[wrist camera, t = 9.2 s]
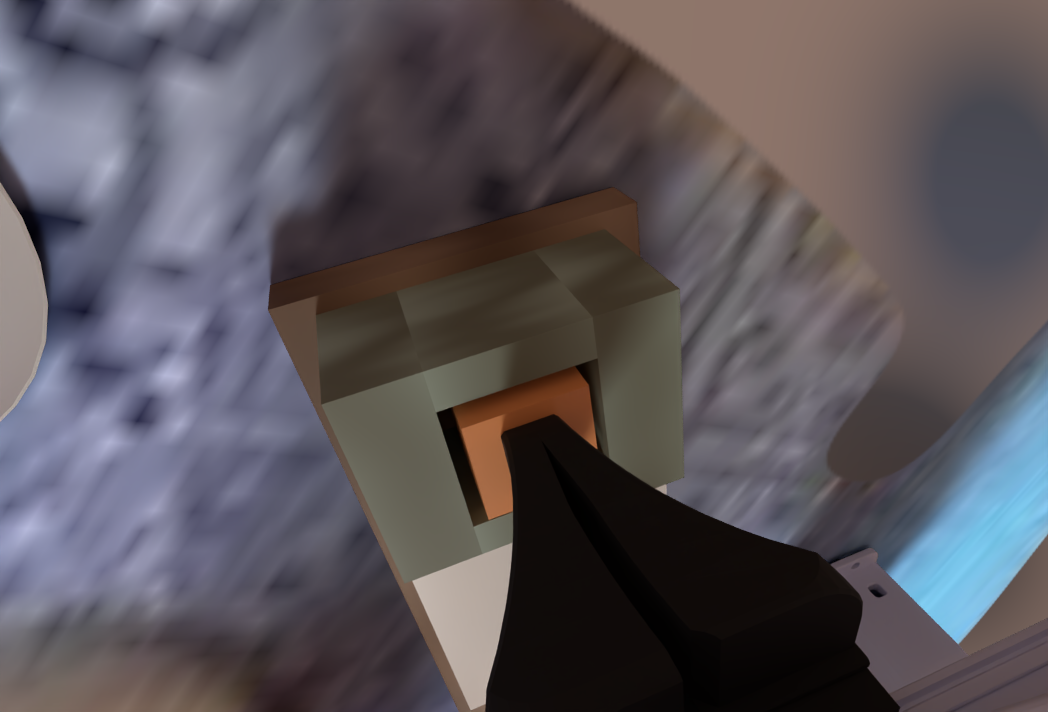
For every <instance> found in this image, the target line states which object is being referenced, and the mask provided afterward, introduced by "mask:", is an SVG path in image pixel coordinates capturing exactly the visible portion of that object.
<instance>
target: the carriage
mask: <svg viewBox="0 0 1048 712" xmlns="http://www.w3.org/2000/svg"><path fill="white" fill-rule="evenodd" d="M655 489H657V490H659V491H660V492H662V493H664V494H666V495H667V493H666V484H665V485H663V486H660V487H657V488H655ZM511 558H512V543H510V544H508V545H505V546H502V547H500V548H497V549H495V550H492V551H489V552H487V553H484V554H481V555H479V556H476V557H473V558H471V559H468V560H466V561H463V562H460V563H458V564H455V565H452V566H450V567H447V568H445V569H442V570H439V571H437V572H434V573H431V574H429V575H426V576H424V577H421V578H418V579H416V580H413V581H412V582H413V584H414V586H415V588H416V590H417V593H418V595H419V597H420V599H421V602H422V604H423V606H424V608H425V610H426V613H427V615H428V617H429V619H430V621H431V624H432V626H433V628H434V630H435V633H436V635H437V637H438V639H439V641H440V644H441V646H442V648H443V650H444V652H445V655H446V657H447V659H448V661H449V664H450V666H451V668H452V670H453V672H454V675H455V677H456V679H457V681H458V683H459V686H460V688H461V690H462V692H463V695H464V697H465V699H466V701H467V703H468V706H469V708H470V710H473V709H475V708H477V707H480V706H482V705H484V704H486V688H487V685H488V681H489V677H490V673H491V670H492V666H493V662H494V658H495V655H496V651H497V647H498V642H499V637H500V632H501V627H502V622H503V617H504V612H505V607H506V600H507V594H508V586H509V578H510V569H511Z"/></svg>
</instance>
